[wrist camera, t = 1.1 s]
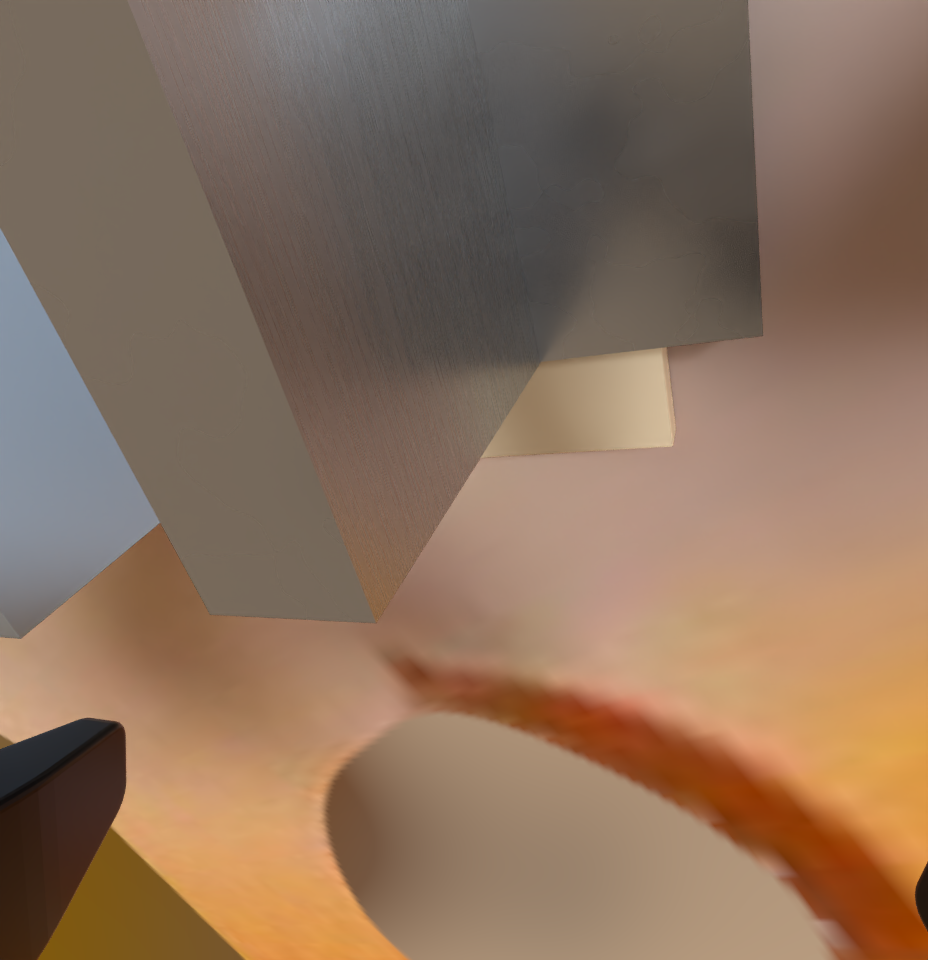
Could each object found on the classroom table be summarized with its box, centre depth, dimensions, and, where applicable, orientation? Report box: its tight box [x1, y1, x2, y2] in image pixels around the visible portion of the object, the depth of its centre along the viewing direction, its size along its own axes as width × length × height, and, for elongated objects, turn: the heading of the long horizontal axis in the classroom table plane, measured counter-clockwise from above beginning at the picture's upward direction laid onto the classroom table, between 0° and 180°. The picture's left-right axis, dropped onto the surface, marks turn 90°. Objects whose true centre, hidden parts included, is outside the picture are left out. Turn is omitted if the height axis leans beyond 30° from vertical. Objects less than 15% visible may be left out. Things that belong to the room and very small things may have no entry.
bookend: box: [0, 0, 763, 623], centre depth 11 cm, size 8×9×10 cm
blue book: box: [0, 229, 160, 639], centre depth 14 cm, size 2×9×11 cm, turn 15°
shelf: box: [481, 347, 676, 458], centre depth 16 cm, size 20×15×7 cm
